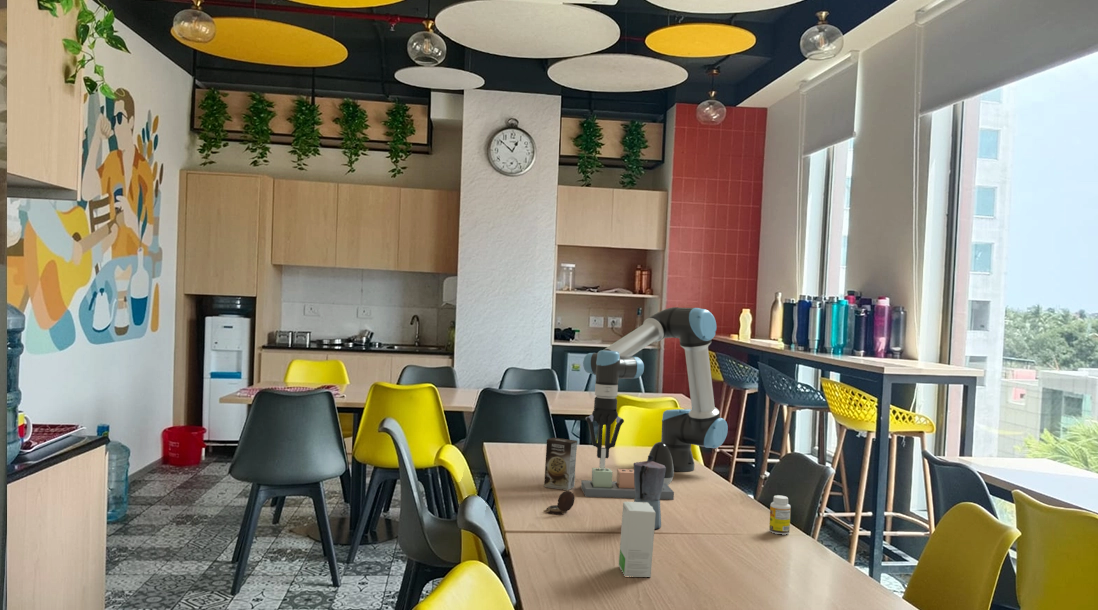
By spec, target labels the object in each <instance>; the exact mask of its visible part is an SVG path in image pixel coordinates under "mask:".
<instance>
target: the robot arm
mask: <svg viewBox="0 0 1098 610" xmlns="http://www.w3.org/2000/svg"><path fill="white" fill-rule="evenodd" d="M716 332H717V322H716V318H715V316H714V314H712V312H710V310H708V309H705V308H700V307H678V306H677V307H675V306H673V307H668V308H665V309H663V310H660V311H658V312H655V313H654V314H653V315H651V316H649V317H648V318H646V319H644V321H643V322H642V324H641V325H640V326H638V327H636V329H634V330H633V331H631V332H629V333H627V334H626V335H624V336H622V337H621V338H619V339H618V340H616V341H615V342H614V343H612V344H610V345H609V346H606V347H605V348H604V349H603V350H602V349H601V350H599V351H598V352H589V353H587V354H586V355H585V356H584V358H583V360H582V366H583V370H584V371H585V372H586V373H587V374H591V375H594V376H595V385H594V386H595V387H594V396H595V397H594V401H593V402H594V403H593V404H594V406H593V411H592V412H591V414H590V415H589V416H586V417H585V421H586V422H587V424H588V430H589V435H590V440H591V445H592V446H593V447H595V448H596V457H597V459H599V465H598V466H599V467H598V468H600V469H605V468H606V459H609V456H610V449H612V448H615V447H616V444H617V439H618V436H619V433H620V430H621V426H622V425H624V423H625V420H624V419H623V418H622V417H620V416H619V413H618V411H617V409H618V406H617V405H618V399H617V397H618V390H619V389H618V388H619V385H618V384H619V380H622V379H624V380H625V379H630V380H634V379H638V378H641V376H643V373H644V370H645V364H644V362H643V360H642V359H641V358H640V357H638V356H635V355H636V354H638V353H639V352H640V351H642V350H643V349H645V348H647V347H648V346H649V345H651V344H652V343H654V342H656V343H657V342H661V340H664V339H671V338H672V339H673V338H674V339H679V346H680V347H681V348H682V349H684V354H685V363H686V371H687V378H688V379H687V381H688V388H689V396H690V403H691V409H689V408H688V409H687V408H685V409H679V408H677V409H665V411H663V413H662V419H661V441H660V442H663V443H665V444H666V445H667V446H668V448H669V450H670V453H671V456H672V461H673V467H674V472H693V471H695V461H694V457H693V452H692V445H693V446H699V447H703V448H706V449H709V448H711V449H717V448H719V447H720V446H722V445H723V444H724V442H725V440H726V438H727V436H728V428H729V427H728V423H727V421H726V419H725V418H723V417H721V415H720V410H719V409H718V408H717V407H715V399H714V398H715V396H714V388H713V380H712V370H711V363H710V354H709V346H710V345H711V344H712V339H714V337H715V336H716ZM594 420H595V421H596V423H597V439H596V435H595V430H594V429H595V428H594V424H593V422H594ZM614 422H616V424H615V426H614V430H613V433H612V437H611V427H612V426H611V425H612V424H613V423H614ZM604 425H605V437H604V438H605V439H604V447H602V446H603V430H604V429H603V428H604ZM596 440H597V441H596Z"/></svg>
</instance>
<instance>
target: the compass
mask: <svg viewBox="0 0 1098 610" xmlns="http://www.w3.org/2000/svg"><path fill="white" fill-rule="evenodd" d="M575 500H576V497H575V494H574V492H572V491H570V490H563V492H562V493H561V494H560V495H559V497H558V498H557V503H556V504H557V505H555V504H552V505H549V506H548V507H546V509H544V510H543V512H544V513H545V512H546V513H548V512H549V513H548V514H552V513H554V515H563V514H562V513H565V514H567V513H568V511H570V510H571V509H572V507H573V506H574V504H575Z"/></svg>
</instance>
